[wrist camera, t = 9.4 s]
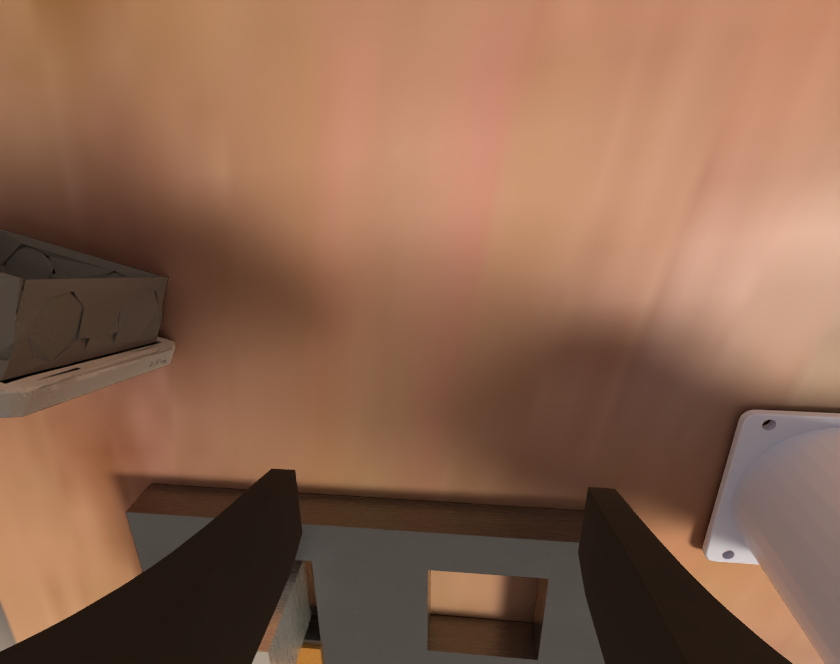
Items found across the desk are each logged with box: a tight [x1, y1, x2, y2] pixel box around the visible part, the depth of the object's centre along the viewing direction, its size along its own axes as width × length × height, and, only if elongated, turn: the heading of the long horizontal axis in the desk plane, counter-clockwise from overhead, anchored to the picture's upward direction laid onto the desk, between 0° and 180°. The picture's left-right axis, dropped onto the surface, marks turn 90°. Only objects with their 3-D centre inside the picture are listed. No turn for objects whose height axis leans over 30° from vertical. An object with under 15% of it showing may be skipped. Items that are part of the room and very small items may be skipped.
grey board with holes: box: [126, 484, 605, 664], centre depth 25 cm, size 23×10×2 cm, turn 90°
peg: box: [252, 560, 316, 664], centre depth 24 cm, size 4×4×6 cm
